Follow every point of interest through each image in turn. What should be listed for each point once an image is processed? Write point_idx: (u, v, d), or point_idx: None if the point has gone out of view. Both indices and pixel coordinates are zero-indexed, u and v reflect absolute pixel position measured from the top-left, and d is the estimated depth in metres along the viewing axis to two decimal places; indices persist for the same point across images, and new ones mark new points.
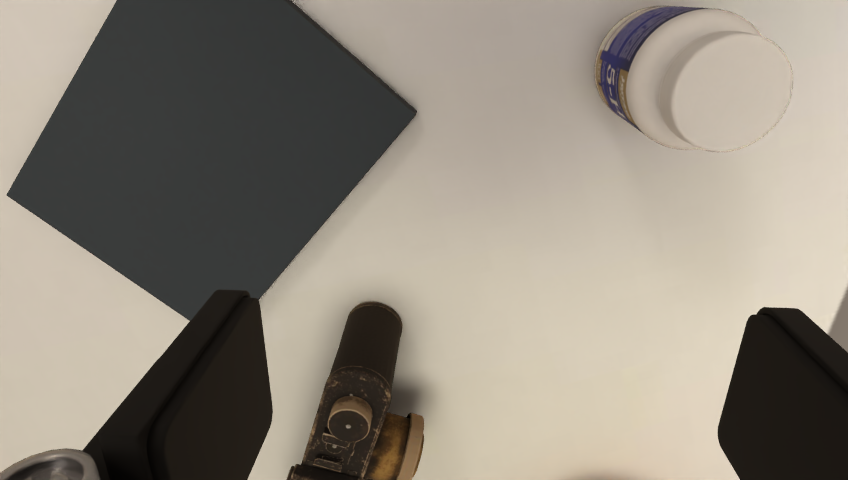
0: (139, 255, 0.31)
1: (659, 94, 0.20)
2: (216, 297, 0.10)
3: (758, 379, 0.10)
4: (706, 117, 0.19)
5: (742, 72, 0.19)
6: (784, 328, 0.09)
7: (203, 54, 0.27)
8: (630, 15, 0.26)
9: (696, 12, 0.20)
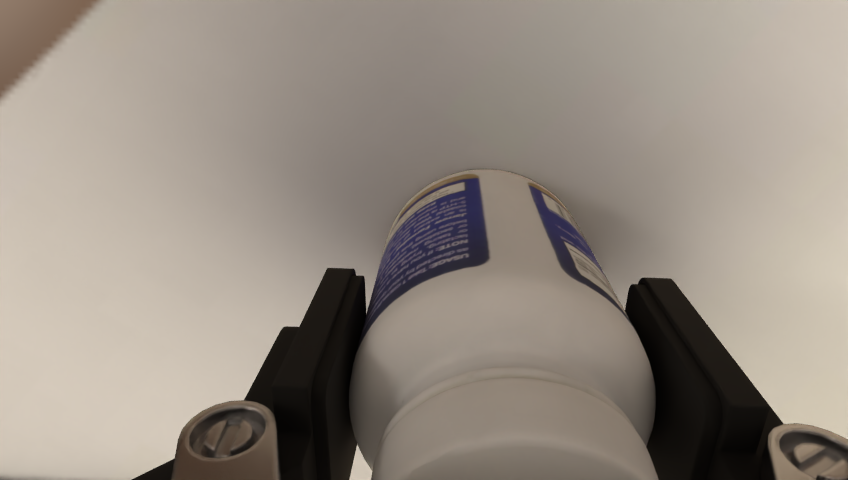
0: None
1: None
2: (330, 274, 0.11)
3: None
4: None
5: None
6: (655, 296, 0.10)
7: None
8: None
9: (375, 333, 0.09)
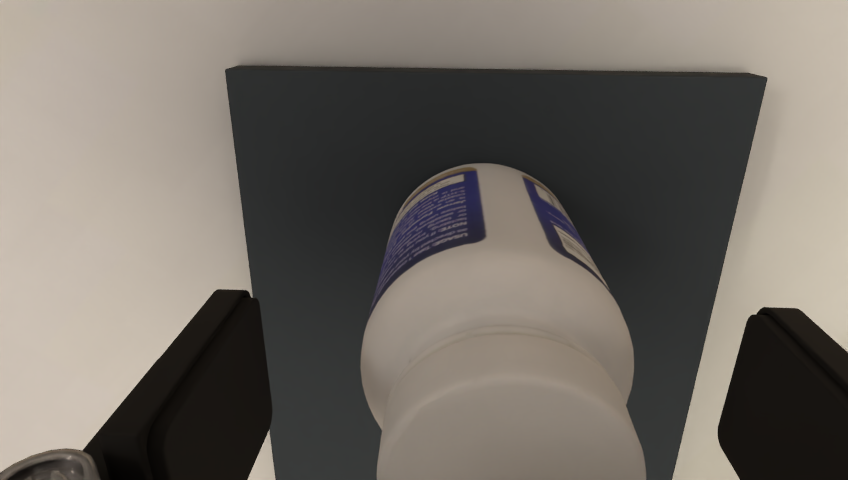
0: None
1: None
2: (216, 297, 0.10)
3: (758, 379, 0.10)
4: None
5: (490, 453, 0.08)
6: (785, 328, 0.09)
7: None
8: None
9: (385, 302, 0.10)
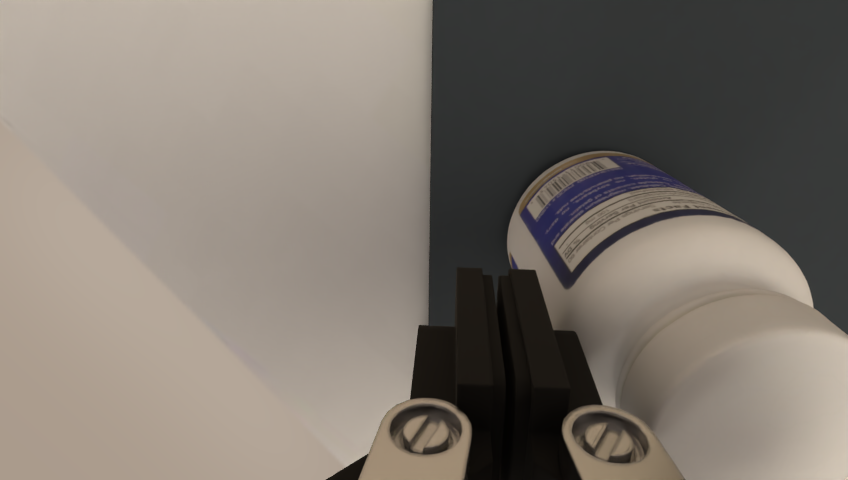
0: None
1: None
2: (463, 273, 0.11)
3: None
4: (826, 436, 0.09)
5: (722, 452, 0.09)
6: (516, 286, 0.11)
7: None
8: None
9: None
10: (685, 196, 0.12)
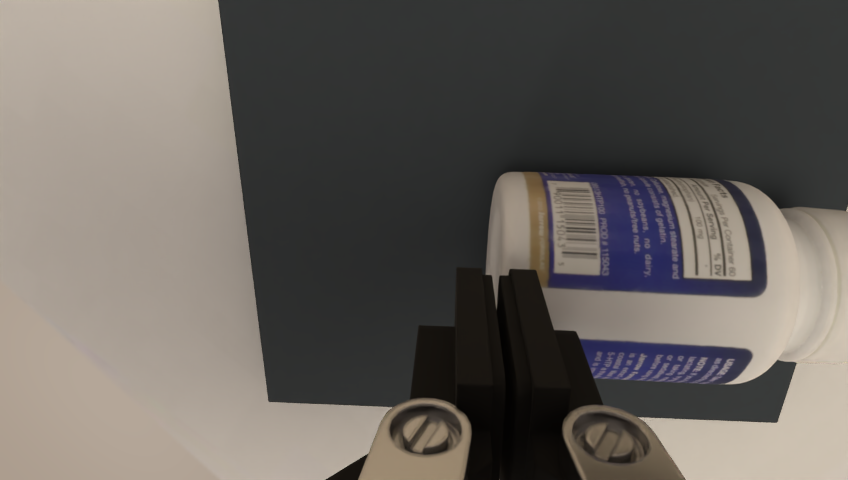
0: None
1: None
2: (463, 273, 0.11)
3: (499, 331, 0.11)
4: None
5: None
6: (517, 286, 0.11)
7: (391, 299, 0.18)
8: None
9: None
10: (681, 179, 0.14)
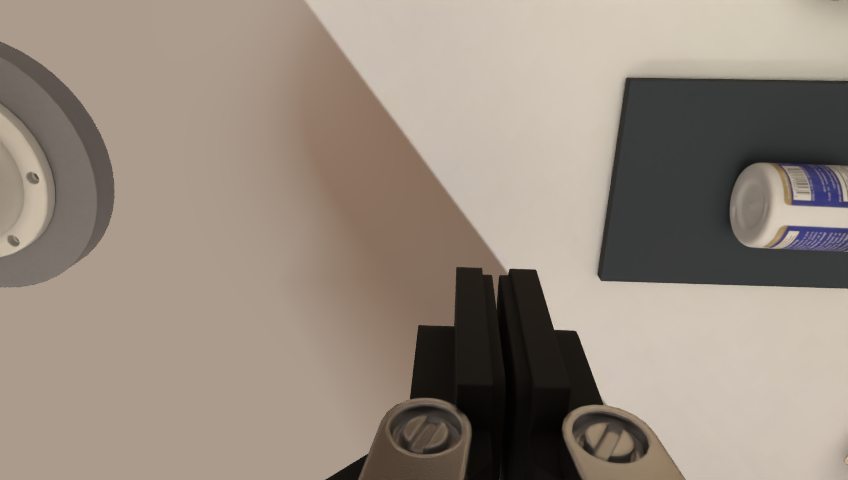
0: None
1: None
2: (463, 273, 0.11)
3: (499, 331, 0.11)
4: None
5: None
6: (517, 286, 0.11)
7: (676, 225, 0.38)
8: (756, 247, 0.35)
9: None
10: (834, 165, 0.34)
